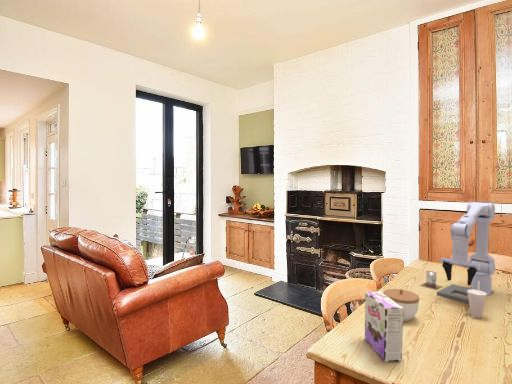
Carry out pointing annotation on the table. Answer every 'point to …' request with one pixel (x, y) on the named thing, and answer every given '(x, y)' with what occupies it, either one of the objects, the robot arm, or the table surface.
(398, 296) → the lidded bowl
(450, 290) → the hole plate
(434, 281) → the steel peg
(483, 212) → the robot arm
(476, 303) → the smoothie
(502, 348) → the table surface
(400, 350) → the candy box
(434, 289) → the tab
